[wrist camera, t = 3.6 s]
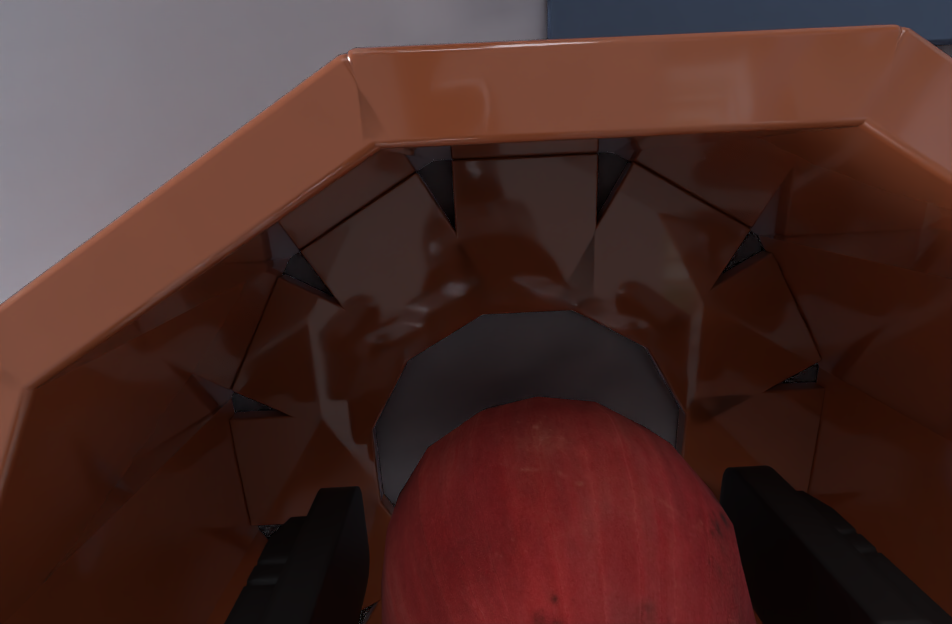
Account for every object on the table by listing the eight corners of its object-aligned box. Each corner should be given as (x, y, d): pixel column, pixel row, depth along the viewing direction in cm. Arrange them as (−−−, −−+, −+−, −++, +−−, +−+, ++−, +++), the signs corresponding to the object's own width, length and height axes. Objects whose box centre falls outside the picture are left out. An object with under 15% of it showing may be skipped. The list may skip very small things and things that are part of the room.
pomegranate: (672, 354, 11) (1126, 758, 4) (618, 557, 13) (850, 1137, 5) (420, 323, 11) (317, 700, 3) (397, 536, 12) (291, 1129, 5)
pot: (142, 137, 10) (-448, 81, 3) (895, 102, 10) (1657, -14, 4) (269, 694, 14) (111, 1123, 8) (791, 664, 14) (1053, 1060, 8)
